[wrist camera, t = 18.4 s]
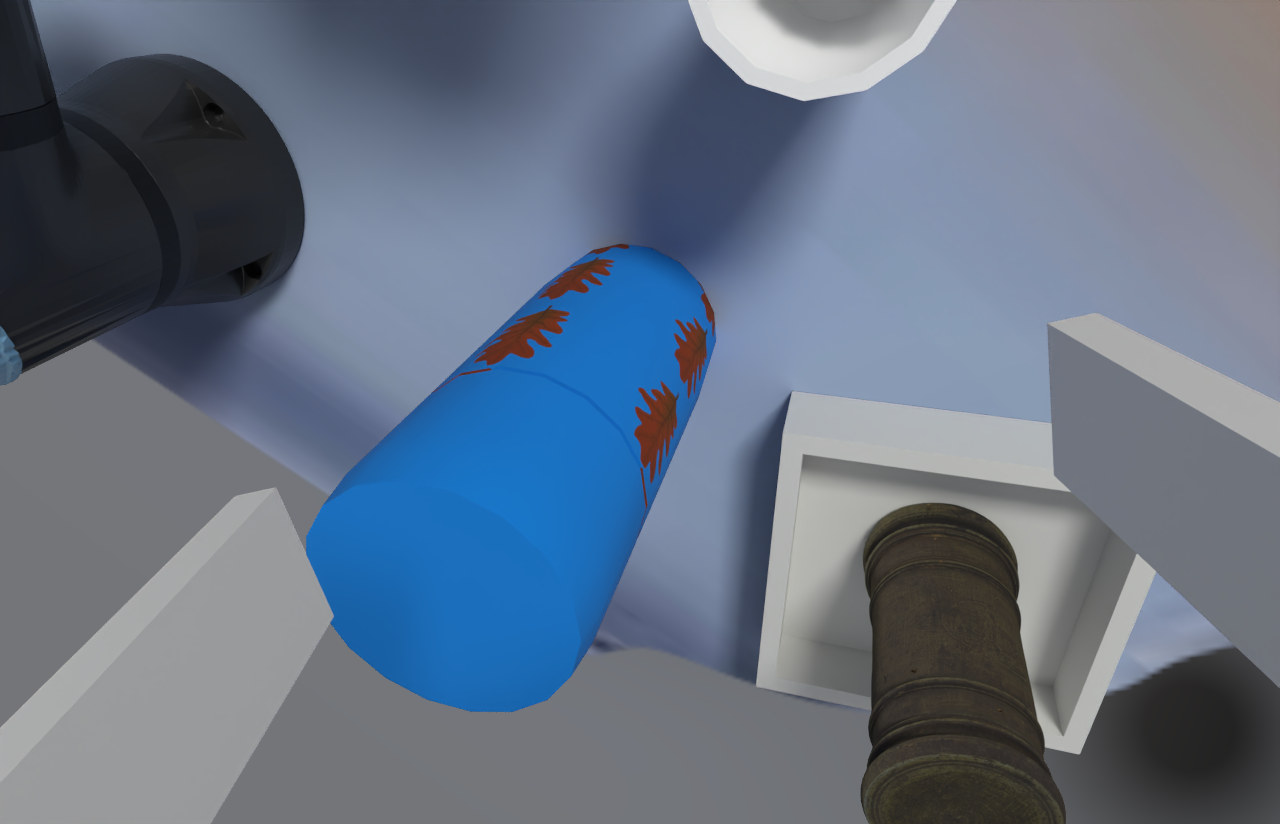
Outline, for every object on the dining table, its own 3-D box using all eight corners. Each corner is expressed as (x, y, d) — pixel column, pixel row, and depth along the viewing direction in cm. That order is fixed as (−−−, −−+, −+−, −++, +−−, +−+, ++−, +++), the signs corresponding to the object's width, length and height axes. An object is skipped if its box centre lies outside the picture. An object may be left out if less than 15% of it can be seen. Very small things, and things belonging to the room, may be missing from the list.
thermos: (694, 223, 45) (522, 459, 24) (738, 391, 49) (626, 717, 28) (524, 261, 48) (247, 493, 27) (579, 414, 53) (376, 714, 32)
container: (872, 490, 49) (864, 729, 34) (1031, 511, 46) (1100, 777, 31) (855, 601, 53) (841, 857, 38) (999, 625, 51) (1046, 906, 36)
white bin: (765, 633, 58) (755, 686, 54) (792, 391, 48) (783, 432, 44) (1064, 691, 53) (1079, 754, 49) (1162, 436, 43) (1191, 488, 39)
